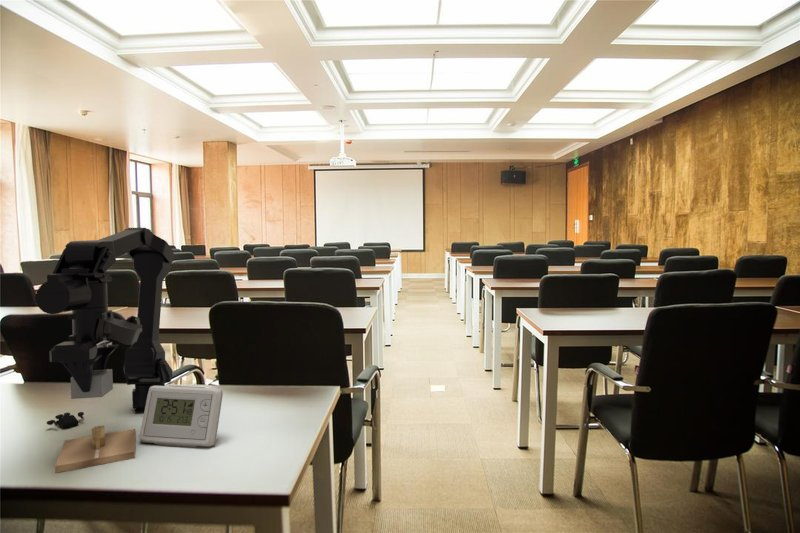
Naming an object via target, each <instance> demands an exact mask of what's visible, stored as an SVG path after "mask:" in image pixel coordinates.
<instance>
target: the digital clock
mask: <svg viewBox="0 0 800 533" xmlns="http://www.w3.org/2000/svg"><path fill="white" fill-rule="evenodd" d="M223 395H224V392H223V390H221V389H220V388H214V387H211V388H210V387H205V386H188V385H165V386H151V387H150V388H149V391H148V395H147V401H146V406H145V411H144V412H143V416H142V421H141V427H140V432H139V441H140V442H142V443H147V444H155V445H161V446H162V445H163V446H173V447H174V446H175V447H177V446H178V447H191V448H197V447H207V448H208V447H213V446H214V445H215V444H216V441H217V436H218V429H219V423H220V415H221V409H222V408H221V407H222V403H223Z"/></svg>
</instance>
